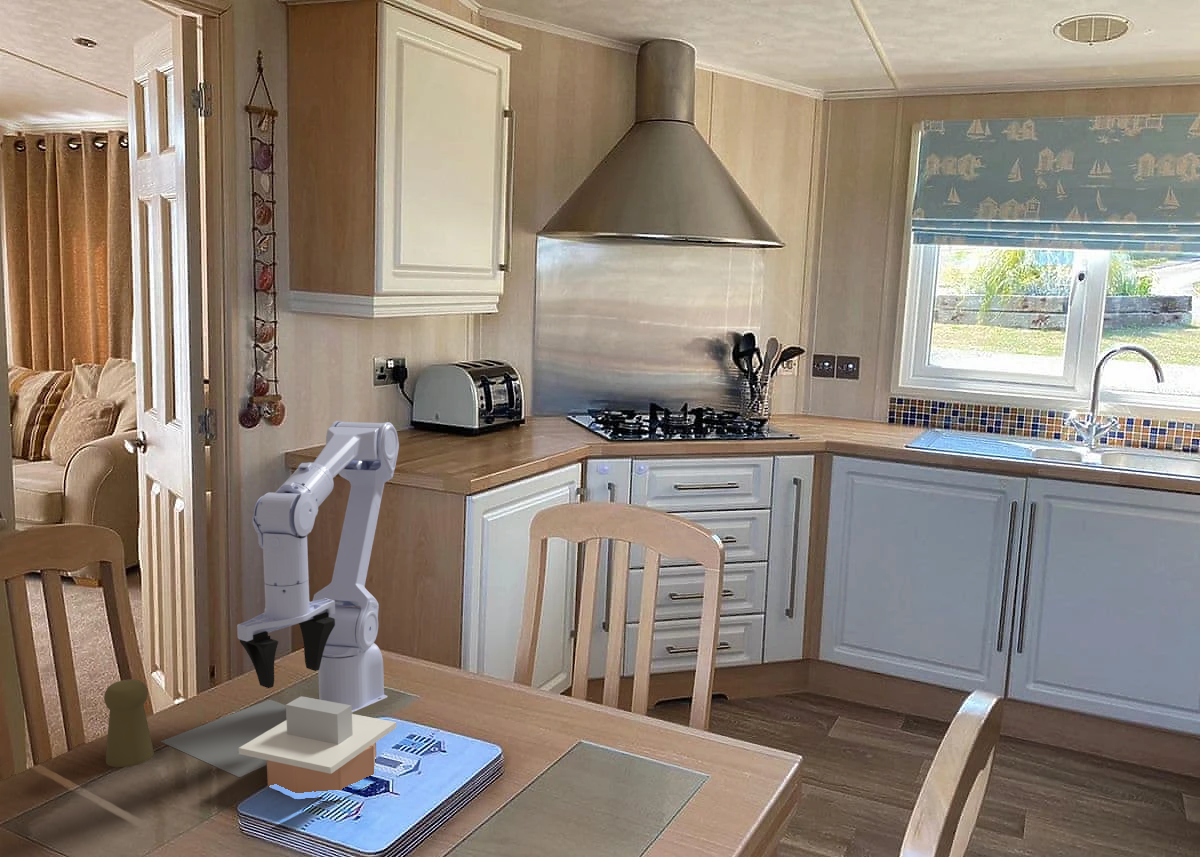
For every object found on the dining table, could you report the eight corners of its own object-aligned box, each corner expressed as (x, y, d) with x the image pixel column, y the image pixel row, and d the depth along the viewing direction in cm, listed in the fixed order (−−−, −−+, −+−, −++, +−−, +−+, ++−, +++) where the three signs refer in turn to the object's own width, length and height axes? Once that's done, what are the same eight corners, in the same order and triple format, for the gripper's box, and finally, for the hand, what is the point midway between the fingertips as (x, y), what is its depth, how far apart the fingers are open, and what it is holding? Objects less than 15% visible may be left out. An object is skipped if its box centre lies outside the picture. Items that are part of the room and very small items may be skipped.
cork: (135, 773, 131) (130, 693, 129) (94, 769, 132) (89, 689, 130) (164, 753, 136) (159, 676, 135) (125, 749, 138) (120, 672, 136)
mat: (269, 703, 153) (269, 699, 153) (348, 732, 143) (348, 728, 143) (160, 745, 139) (160, 741, 139) (239, 781, 128) (239, 777, 128)
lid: (310, 711, 138) (309, 678, 137) (396, 727, 133) (395, 693, 132) (239, 753, 125) (237, 717, 125) (331, 773, 120) (329, 735, 119)
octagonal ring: (330, 746, 139) (329, 711, 138) (396, 771, 131) (395, 735, 130) (249, 783, 128) (247, 746, 127) (316, 813, 120) (314, 774, 120)
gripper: (310, 564, 143) (314, 656, 144) (221, 588, 131) (225, 687, 133) (343, 572, 139) (346, 666, 140) (254, 597, 127) (258, 699, 129)
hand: (290, 677), depth 136 cm, fingers open, 7 cm apart
